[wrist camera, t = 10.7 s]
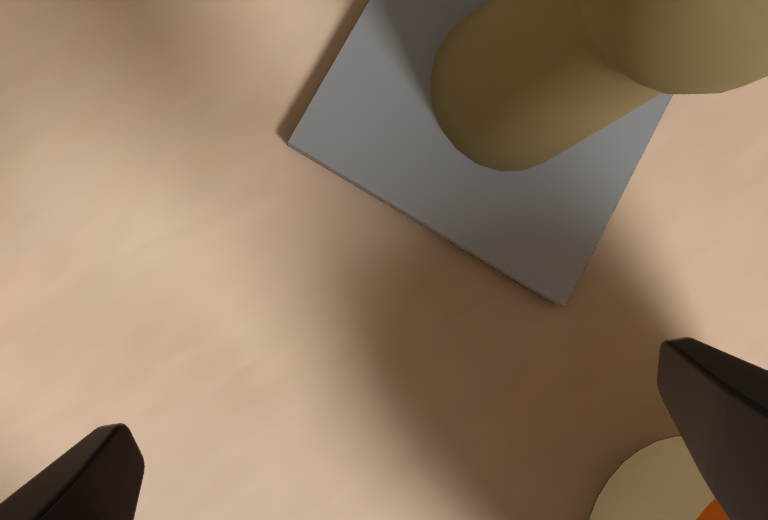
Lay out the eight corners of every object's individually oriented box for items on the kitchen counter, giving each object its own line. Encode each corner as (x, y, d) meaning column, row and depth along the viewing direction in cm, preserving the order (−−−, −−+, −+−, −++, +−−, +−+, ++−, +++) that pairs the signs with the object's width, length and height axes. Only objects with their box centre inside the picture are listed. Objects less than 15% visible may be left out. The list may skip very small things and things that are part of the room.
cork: (396, 91, 19) (568, -110, 8) (500, -28, 20) (785, -357, 9) (515, 205, 20) (803, 160, 9) (609, 88, 21) (980, -80, 10)
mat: (556, 305, 21) (565, 306, 21) (287, 145, 19) (287, 141, 18) (687, 49, 22) (698, 44, 22) (447, -134, 20) (452, -145, 19)
